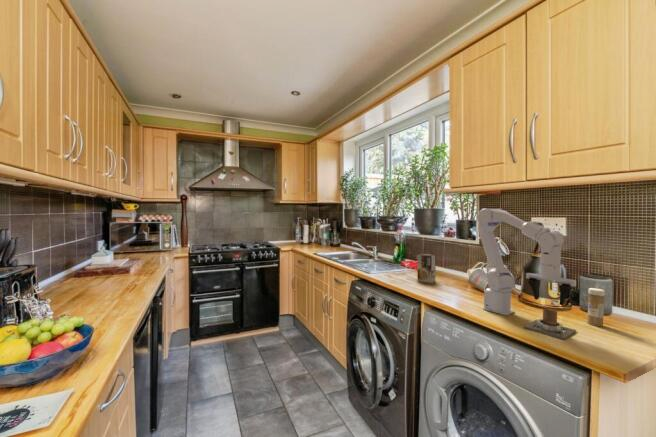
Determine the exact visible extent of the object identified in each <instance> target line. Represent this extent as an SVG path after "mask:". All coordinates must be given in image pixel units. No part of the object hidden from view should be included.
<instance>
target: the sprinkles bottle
mask: <svg viewBox="0 0 656 437" xmlns="http://www.w3.org/2000/svg"><path fill="white" fill-rule="evenodd" d="M587 290H588V291H587V294H588V303H587V305H588V307H587V321H586V323H588V324H589V325H590V326H594V327H603V326H604V316H605V315H604V314H605V313H604V312H605V310H604V309H605V295H606V292H605V289H602V288H597V287H596V288H595V287H590V288H588V289H587Z"/></svg>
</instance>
